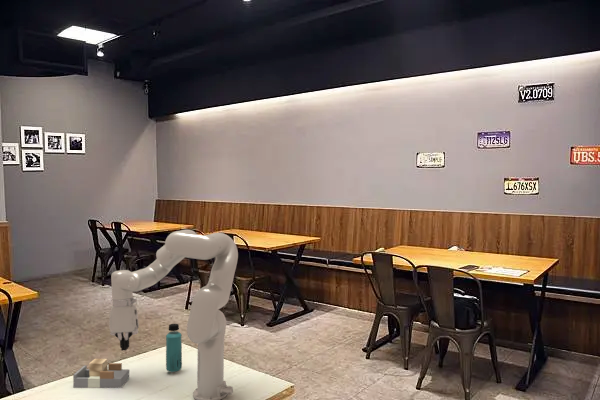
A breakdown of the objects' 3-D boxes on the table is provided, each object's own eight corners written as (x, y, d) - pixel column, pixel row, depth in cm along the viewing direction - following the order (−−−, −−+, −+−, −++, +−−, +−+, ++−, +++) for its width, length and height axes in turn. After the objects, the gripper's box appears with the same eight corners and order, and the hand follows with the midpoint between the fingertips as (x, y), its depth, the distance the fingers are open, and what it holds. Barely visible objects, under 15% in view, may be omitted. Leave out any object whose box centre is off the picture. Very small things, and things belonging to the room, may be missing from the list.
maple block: (107, 371, 183) (107, 358, 183) (102, 376, 178) (102, 363, 178) (95, 371, 183) (94, 358, 183) (89, 376, 178) (89, 363, 178)
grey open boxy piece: (129, 378, 186) (129, 363, 185) (120, 387, 177) (120, 372, 176) (84, 377, 185) (84, 363, 185) (73, 387, 176) (73, 372, 176)
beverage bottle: (177, 376, 188) (177, 327, 187) (162, 374, 189) (162, 326, 189) (184, 369, 194) (184, 322, 194) (170, 368, 196) (170, 321, 195)
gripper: (145, 299, 184) (147, 345, 184) (107, 301, 184) (109, 347, 184) (138, 304, 176) (141, 351, 177) (99, 305, 176) (101, 353, 177)
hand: (124, 349), depth 180 cm, fingers closed
